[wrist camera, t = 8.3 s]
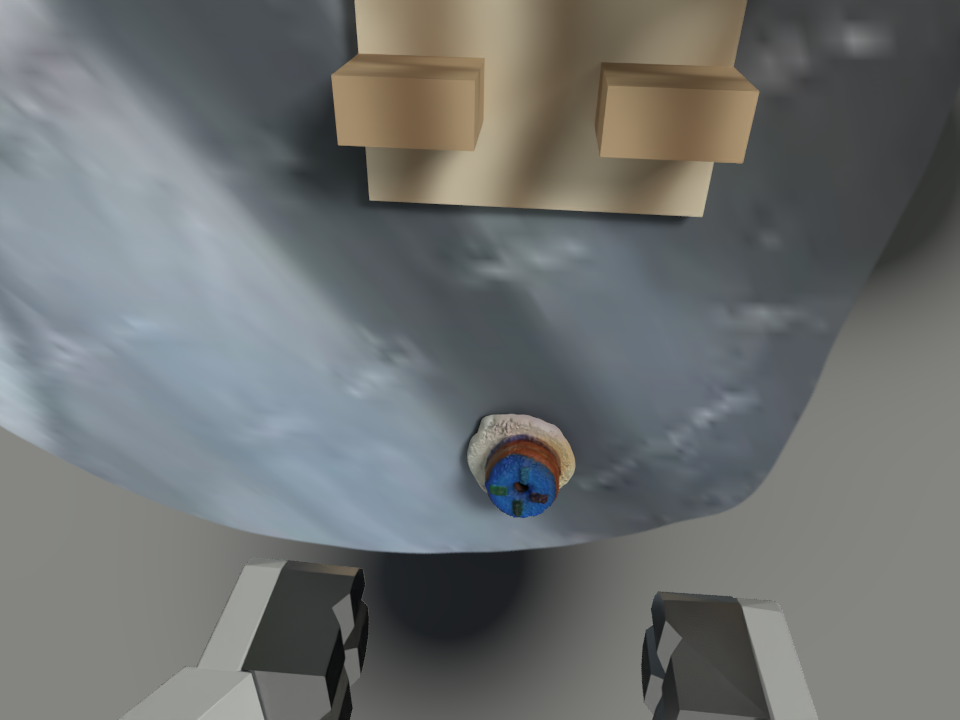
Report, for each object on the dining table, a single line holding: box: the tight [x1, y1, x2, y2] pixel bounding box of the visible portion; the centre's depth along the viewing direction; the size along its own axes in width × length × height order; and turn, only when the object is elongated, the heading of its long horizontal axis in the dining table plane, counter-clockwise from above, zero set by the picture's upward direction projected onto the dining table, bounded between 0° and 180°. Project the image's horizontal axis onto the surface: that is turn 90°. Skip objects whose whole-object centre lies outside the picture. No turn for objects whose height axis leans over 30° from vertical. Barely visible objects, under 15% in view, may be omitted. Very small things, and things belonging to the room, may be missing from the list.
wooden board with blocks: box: [331, 0, 759, 217], centre depth 33 cm, size 18×12×6 cm, turn 89°
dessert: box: [467, 414, 575, 518], centre depth 48 cm, size 8×7×6 cm
